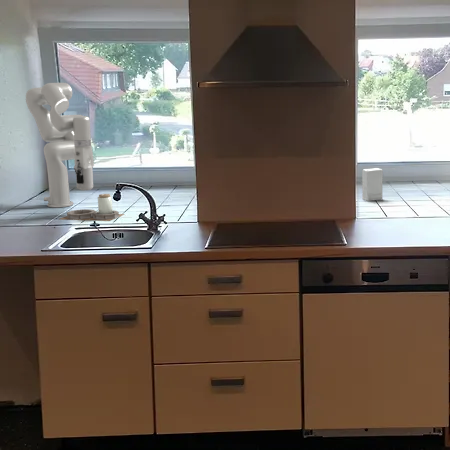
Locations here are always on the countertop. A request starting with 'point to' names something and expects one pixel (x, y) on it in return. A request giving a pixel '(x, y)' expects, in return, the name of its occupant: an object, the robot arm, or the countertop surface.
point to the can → (86, 179)
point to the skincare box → (372, 184)
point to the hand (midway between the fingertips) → (84, 181)
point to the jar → (105, 204)
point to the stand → (90, 215)
